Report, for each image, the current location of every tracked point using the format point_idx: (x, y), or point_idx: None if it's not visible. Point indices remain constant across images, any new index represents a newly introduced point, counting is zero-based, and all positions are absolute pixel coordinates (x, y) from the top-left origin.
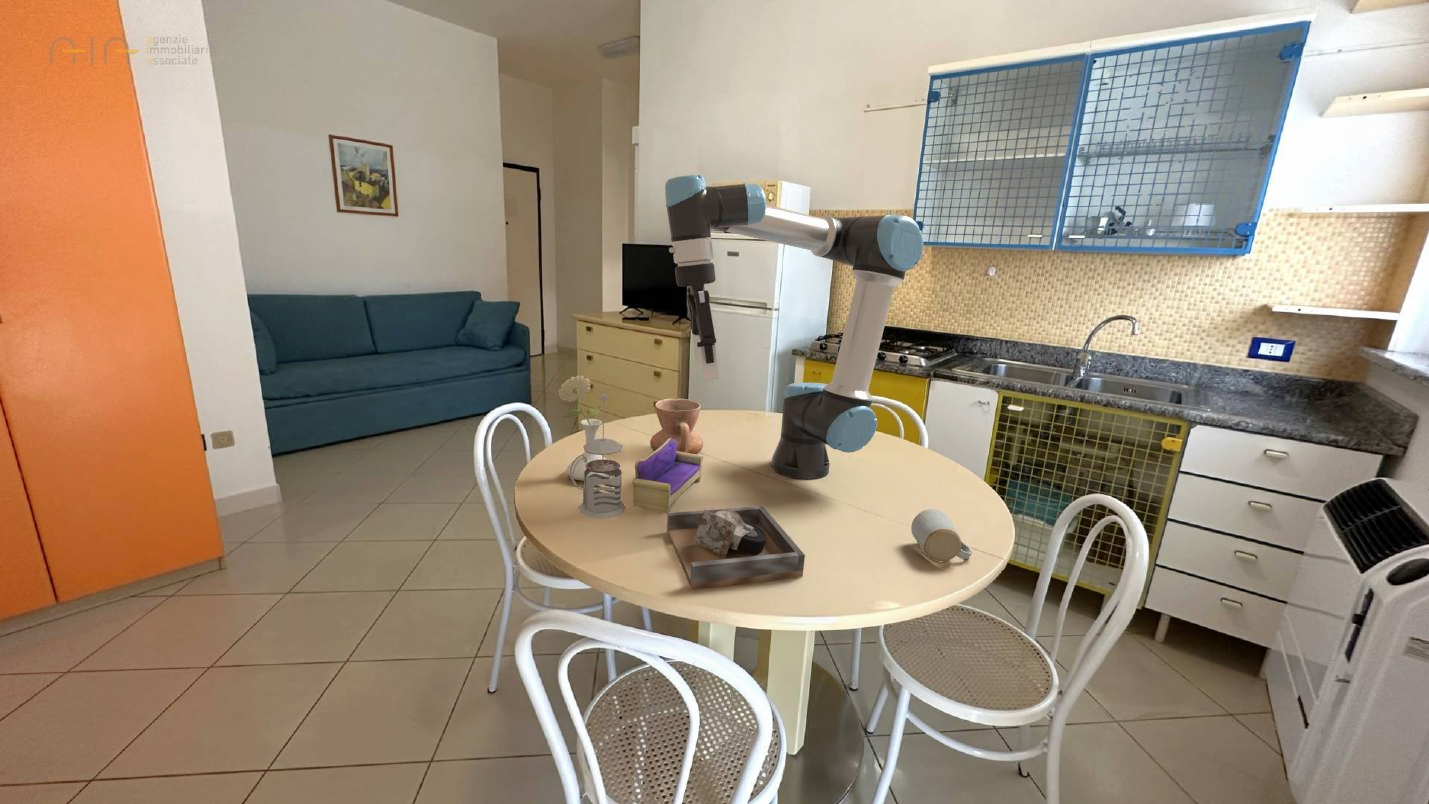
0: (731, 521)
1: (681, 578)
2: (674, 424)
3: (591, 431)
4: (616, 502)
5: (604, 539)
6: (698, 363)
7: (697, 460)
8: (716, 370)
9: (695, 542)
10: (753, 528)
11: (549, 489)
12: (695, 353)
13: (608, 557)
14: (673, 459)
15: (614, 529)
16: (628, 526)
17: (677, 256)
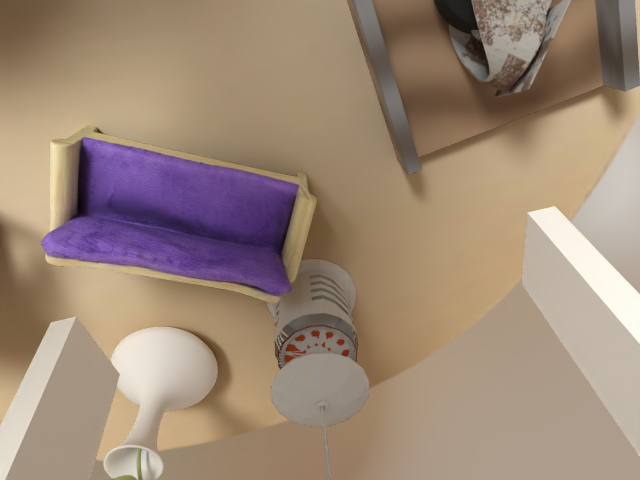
0: (521, 11)
1: (570, 102)
2: None
3: (154, 442)
4: (330, 282)
5: (435, 261)
6: (108, 382)
7: (74, 153)
8: (588, 249)
9: (464, 93)
10: None
11: (254, 398)
12: (92, 458)
13: (497, 238)
14: (97, 220)
15: (396, 255)
16: (380, 235)
17: None
